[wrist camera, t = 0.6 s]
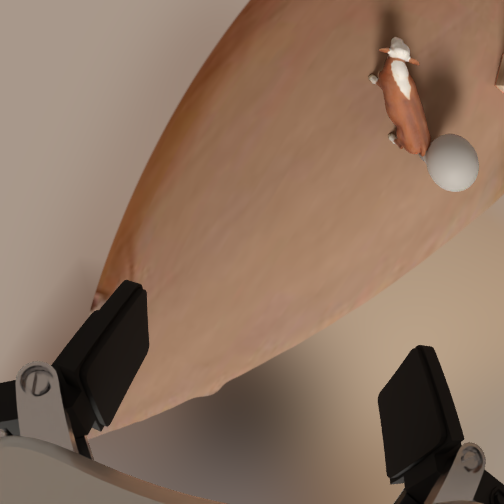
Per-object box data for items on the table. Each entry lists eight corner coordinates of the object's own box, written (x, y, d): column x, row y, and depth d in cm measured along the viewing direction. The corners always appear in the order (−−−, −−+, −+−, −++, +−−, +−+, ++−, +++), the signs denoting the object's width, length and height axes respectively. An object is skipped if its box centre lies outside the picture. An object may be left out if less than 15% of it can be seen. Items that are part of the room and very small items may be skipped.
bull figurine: (390, 45, 26) (413, 31, 19) (415, 147, 32) (443, 158, 25) (357, 49, 28) (374, 34, 20) (385, 152, 33) (407, 164, 26)
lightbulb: (440, 126, 30) (487, 136, 20) (445, 171, 32) (489, 195, 22) (400, 129, 31) (437, 139, 21) (406, 176, 34) (443, 203, 24)
